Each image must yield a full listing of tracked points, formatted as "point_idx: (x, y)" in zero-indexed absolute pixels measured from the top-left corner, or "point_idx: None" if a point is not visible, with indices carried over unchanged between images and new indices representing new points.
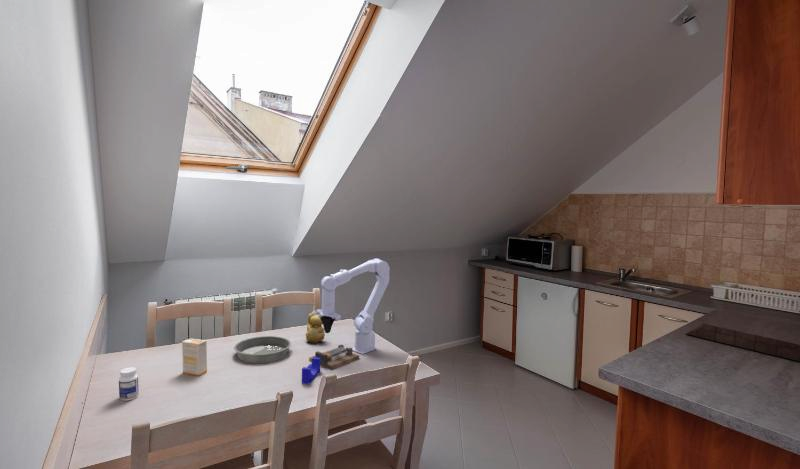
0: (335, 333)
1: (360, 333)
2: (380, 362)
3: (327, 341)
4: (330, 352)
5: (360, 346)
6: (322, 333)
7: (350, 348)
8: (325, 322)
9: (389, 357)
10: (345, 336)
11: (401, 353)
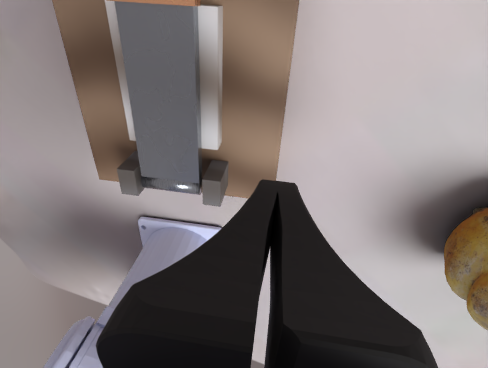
0: (439, 341)
1: (111, 313)
2: (16, 186)
3: (417, 259)
4: (168, 50)
5: (151, 247)
6: (462, 279)
7: (123, 183)
8: (232, 267)
9: (48, 242)
10: None
11: (61, 286)
